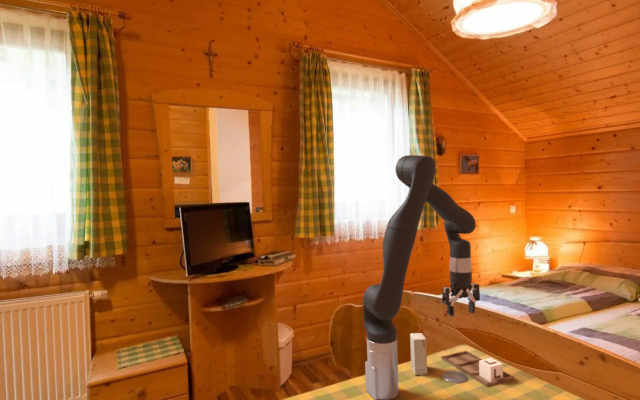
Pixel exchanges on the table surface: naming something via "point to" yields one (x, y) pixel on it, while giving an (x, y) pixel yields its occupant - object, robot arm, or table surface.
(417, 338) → the skincare box
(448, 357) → the tray
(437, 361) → the table surface
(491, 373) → the letter cube
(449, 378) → the slate coaster
